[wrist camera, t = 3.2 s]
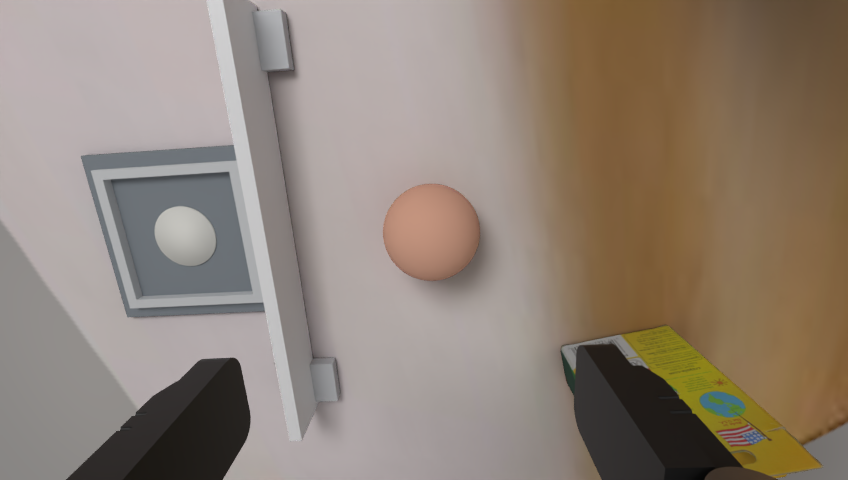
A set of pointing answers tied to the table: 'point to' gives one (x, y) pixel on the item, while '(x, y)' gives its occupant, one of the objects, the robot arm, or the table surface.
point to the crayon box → (709, 400)
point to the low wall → (269, 198)
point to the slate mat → (176, 230)
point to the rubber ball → (431, 232)
